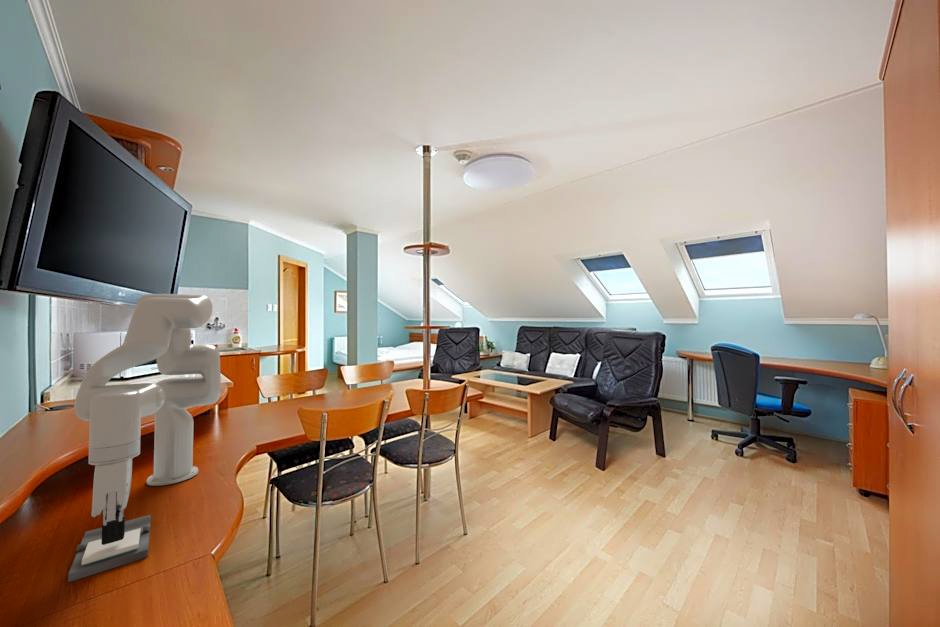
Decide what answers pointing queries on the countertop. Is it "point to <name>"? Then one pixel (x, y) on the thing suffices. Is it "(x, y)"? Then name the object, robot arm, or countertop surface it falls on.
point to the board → (102, 565)
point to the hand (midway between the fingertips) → (113, 540)
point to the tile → (111, 547)
